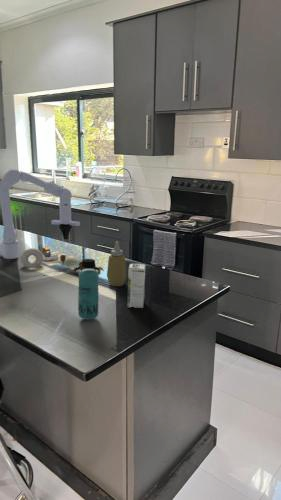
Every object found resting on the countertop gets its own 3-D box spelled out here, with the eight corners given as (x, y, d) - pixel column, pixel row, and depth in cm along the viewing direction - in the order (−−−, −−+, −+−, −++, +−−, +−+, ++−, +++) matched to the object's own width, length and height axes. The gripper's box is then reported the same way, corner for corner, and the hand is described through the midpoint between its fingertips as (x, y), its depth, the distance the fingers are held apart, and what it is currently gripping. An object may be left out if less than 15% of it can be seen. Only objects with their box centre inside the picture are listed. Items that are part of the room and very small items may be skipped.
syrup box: (128, 301, 136) (128, 263, 133) (144, 302, 136) (145, 263, 133) (127, 307, 131) (127, 267, 127) (143, 308, 131) (145, 268, 127)
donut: (43, 267, 174) (42, 246, 172) (44, 269, 171) (43, 248, 169) (20, 269, 171) (19, 247, 168) (21, 271, 168) (20, 249, 165)
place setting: (72, 279, 160) (72, 266, 159) (58, 267, 177) (57, 255, 176) (109, 274, 169) (109, 261, 167) (92, 263, 186) (92, 251, 184)
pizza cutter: (58, 260, 180) (58, 253, 179) (37, 261, 177) (36, 254, 177) (57, 252, 194) (57, 246, 193) (37, 253, 192) (37, 246, 191)
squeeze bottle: (129, 283, 156) (130, 241, 152) (120, 289, 149) (121, 245, 145) (112, 280, 159) (113, 238, 155) (103, 285, 152) (103, 242, 148)
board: (28, 259, 186) (28, 249, 185) (58, 254, 198) (57, 244, 197) (49, 268, 172) (49, 257, 171) (80, 262, 184) (80, 251, 183)
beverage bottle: (79, 315, 123) (78, 256, 118) (99, 315, 124) (99, 256, 119) (77, 324, 117) (76, 262, 112) (98, 323, 118) (98, 262, 113)
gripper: (48, 212, 185) (49, 239, 189) (75, 214, 183) (76, 241, 186) (54, 210, 192) (55, 236, 195) (81, 212, 189) (81, 238, 193)
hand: (65, 239), depth 191 cm, fingers closed
